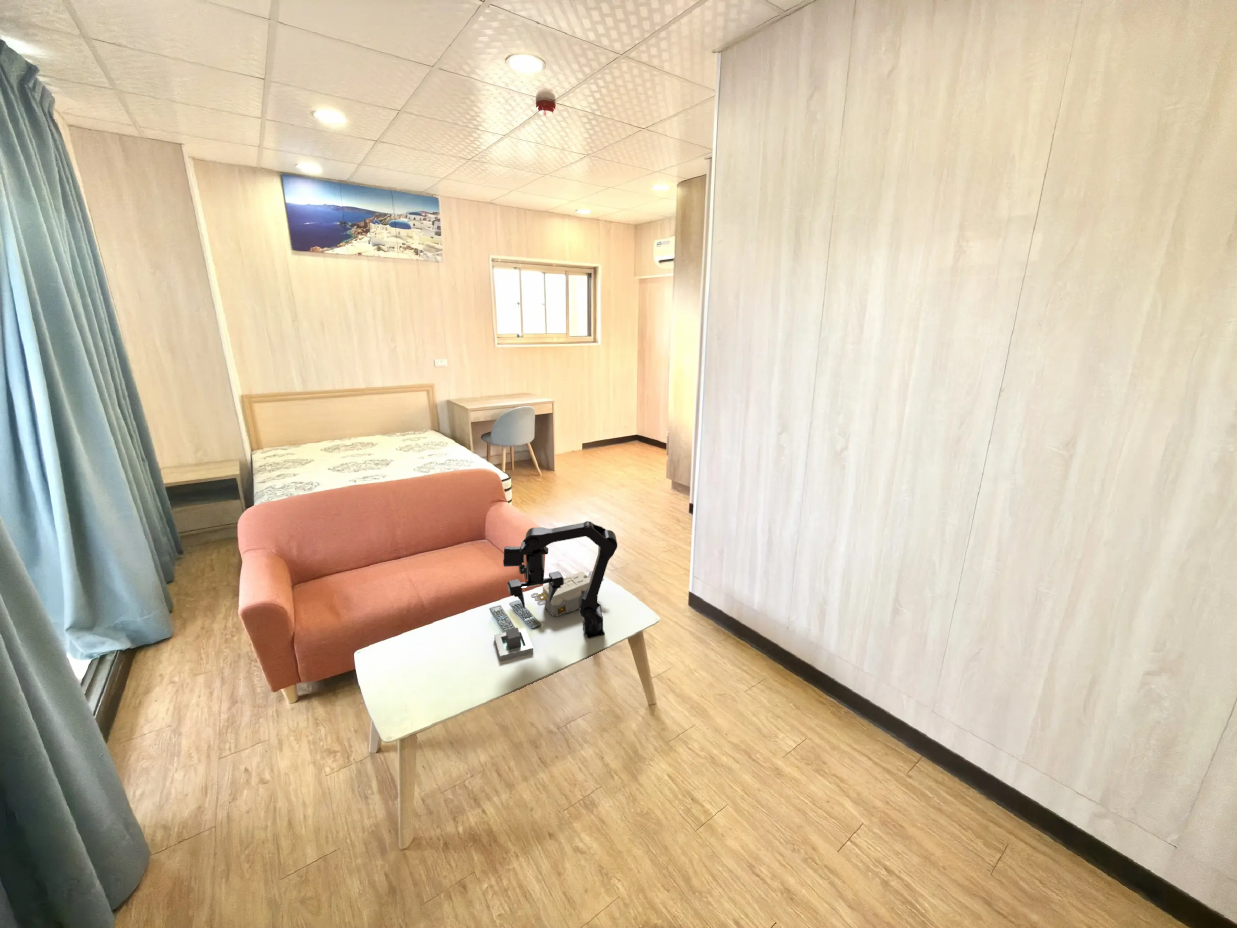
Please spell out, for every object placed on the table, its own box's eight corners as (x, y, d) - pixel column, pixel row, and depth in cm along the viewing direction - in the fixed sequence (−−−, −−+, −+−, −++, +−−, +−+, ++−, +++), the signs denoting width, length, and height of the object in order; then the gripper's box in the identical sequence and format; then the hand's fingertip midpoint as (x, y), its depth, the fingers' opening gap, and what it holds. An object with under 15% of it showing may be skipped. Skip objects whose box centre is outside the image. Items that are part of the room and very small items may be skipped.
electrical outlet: (607, 599, 194) (606, 577, 191) (543, 626, 180) (540, 604, 176) (593, 586, 203) (591, 565, 200) (530, 611, 189) (527, 589, 186)
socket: (525, 632, 174) (525, 627, 173) (533, 652, 164) (532, 647, 163) (494, 639, 170) (494, 634, 169) (500, 661, 159) (500, 656, 159)
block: (518, 639, 170) (517, 627, 168) (521, 648, 165) (520, 635, 164) (506, 642, 168) (505, 630, 167) (509, 651, 164) (508, 638, 162)
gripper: (554, 549, 175) (556, 587, 180) (503, 559, 168) (505, 597, 173) (563, 563, 166) (564, 603, 170) (509, 574, 158) (511, 614, 163)
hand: (536, 604), depth 169 cm, fingers open, 9 cm apart
